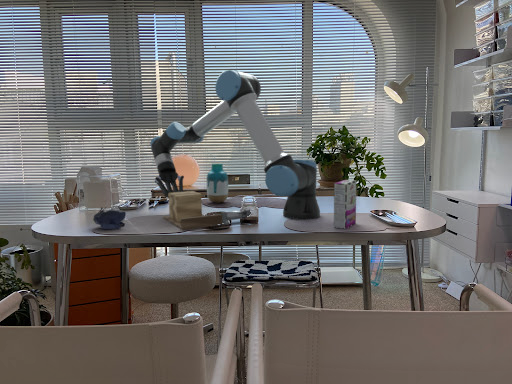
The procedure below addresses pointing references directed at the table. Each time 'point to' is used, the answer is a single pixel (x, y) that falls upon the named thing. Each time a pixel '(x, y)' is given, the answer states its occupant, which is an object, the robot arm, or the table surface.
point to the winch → (234, 215)
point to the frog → (109, 218)
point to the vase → (217, 184)
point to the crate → (184, 205)
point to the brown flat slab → (196, 221)
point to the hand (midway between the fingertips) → (178, 208)
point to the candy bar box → (344, 203)
